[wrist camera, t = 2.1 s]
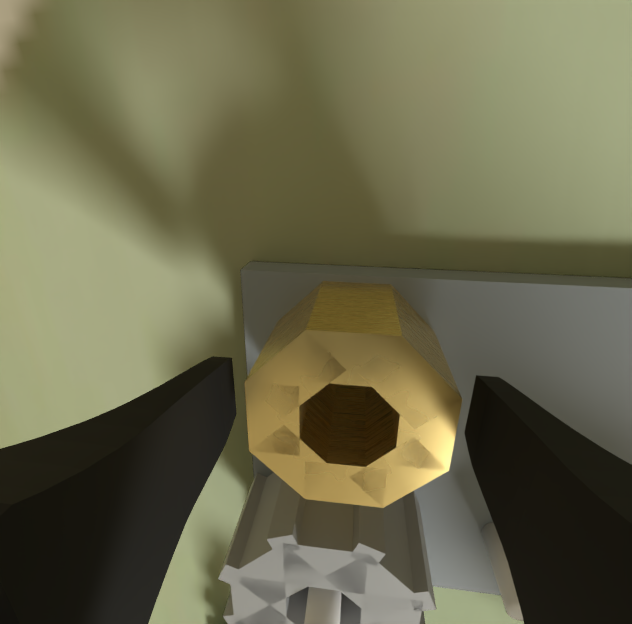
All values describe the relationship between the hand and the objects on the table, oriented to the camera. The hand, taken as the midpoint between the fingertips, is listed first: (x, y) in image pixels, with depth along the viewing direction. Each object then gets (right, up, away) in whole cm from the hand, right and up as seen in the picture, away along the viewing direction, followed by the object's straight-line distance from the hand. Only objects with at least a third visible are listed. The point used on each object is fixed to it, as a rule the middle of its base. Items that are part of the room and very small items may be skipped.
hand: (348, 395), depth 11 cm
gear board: (+4, -3, +5) cm, 7 cm away
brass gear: (0, +1, +2) cm, 3 cm away
